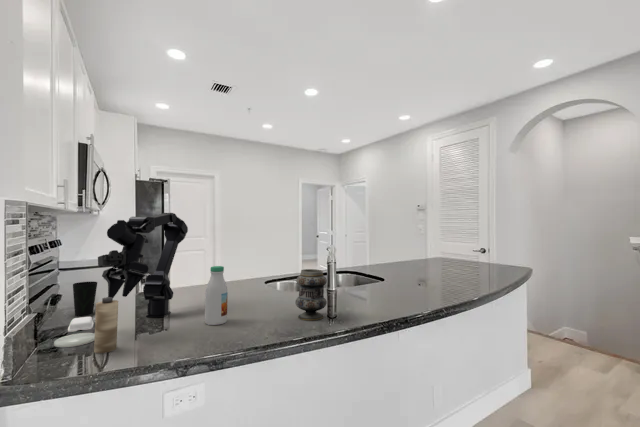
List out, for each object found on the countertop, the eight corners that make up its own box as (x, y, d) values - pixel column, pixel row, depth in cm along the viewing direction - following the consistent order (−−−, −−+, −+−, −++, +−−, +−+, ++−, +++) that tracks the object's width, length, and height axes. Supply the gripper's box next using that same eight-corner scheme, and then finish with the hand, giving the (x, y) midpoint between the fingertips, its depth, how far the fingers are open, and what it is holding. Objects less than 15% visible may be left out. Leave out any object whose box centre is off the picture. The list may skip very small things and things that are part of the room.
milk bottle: (214, 327, 108) (215, 268, 109) (199, 323, 112) (201, 266, 113) (231, 321, 114) (232, 266, 115) (217, 318, 119) (218, 264, 119)
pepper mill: (120, 346, 90) (122, 296, 91) (108, 353, 85) (110, 300, 85) (102, 345, 90) (104, 295, 91) (89, 353, 85) (91, 300, 86)
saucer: (104, 335, 99) (104, 332, 99) (79, 347, 89) (79, 344, 89) (72, 335, 99) (72, 332, 99) (44, 347, 89) (44, 344, 89)
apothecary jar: (332, 317, 121) (333, 270, 122) (311, 324, 112) (311, 273, 113) (310, 311, 130) (311, 267, 130) (288, 317, 121) (289, 270, 122)
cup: (82, 317, 117) (84, 285, 118) (66, 316, 119) (67, 284, 119) (101, 312, 125) (102, 281, 125) (85, 311, 126) (86, 281, 127)
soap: (69, 326, 109) (70, 317, 109) (94, 322, 112) (94, 314, 112) (66, 333, 101) (66, 324, 101) (92, 330, 105) (92, 321, 105)
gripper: (93, 248, 104) (75, 295, 97) (120, 237, 95) (103, 289, 88) (127, 258, 112) (113, 302, 105) (156, 248, 103) (142, 296, 96)
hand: (116, 298), depth 98 cm, fingers open, 9 cm apart
